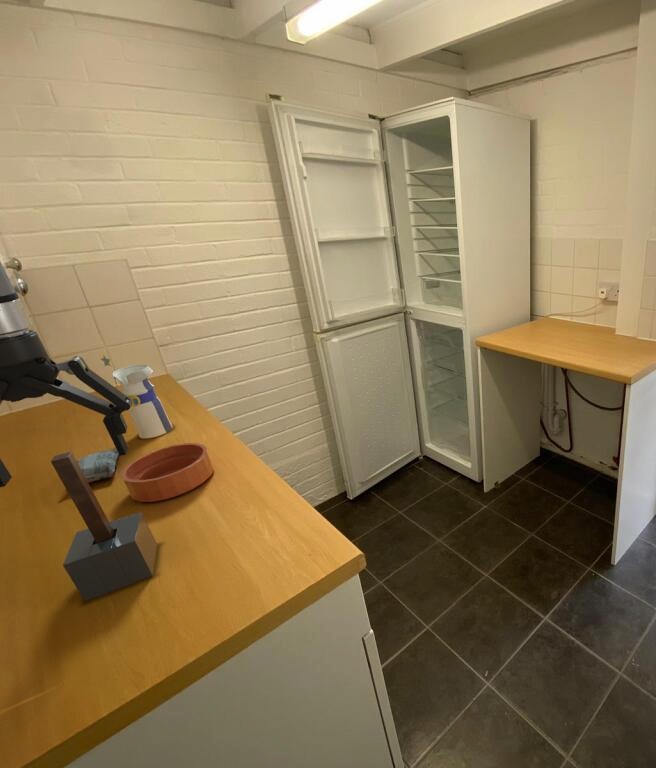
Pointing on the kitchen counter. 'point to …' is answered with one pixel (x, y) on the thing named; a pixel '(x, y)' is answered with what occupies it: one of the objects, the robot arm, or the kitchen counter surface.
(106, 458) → the packaged food
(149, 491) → the bowl
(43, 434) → the kitchen counter surface
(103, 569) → the stick holder
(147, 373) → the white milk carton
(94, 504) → the wooden stick
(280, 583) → the kitchen counter surface
